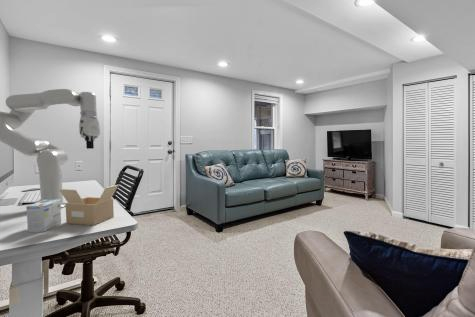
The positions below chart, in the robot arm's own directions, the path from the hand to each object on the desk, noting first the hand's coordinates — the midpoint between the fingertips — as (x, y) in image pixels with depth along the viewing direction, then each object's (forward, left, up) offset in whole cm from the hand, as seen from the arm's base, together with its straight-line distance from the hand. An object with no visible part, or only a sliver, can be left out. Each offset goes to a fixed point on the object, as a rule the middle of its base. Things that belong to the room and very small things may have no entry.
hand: (90, 148), depth 135 cm
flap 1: (+19, -31, -19) cm, 41 cm away
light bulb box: (+9, -35, -32) cm, 48 cm away
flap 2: (+29, -23, -19) cm, 42 cm away
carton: (+20, -23, -32) cm, 44 cm away
